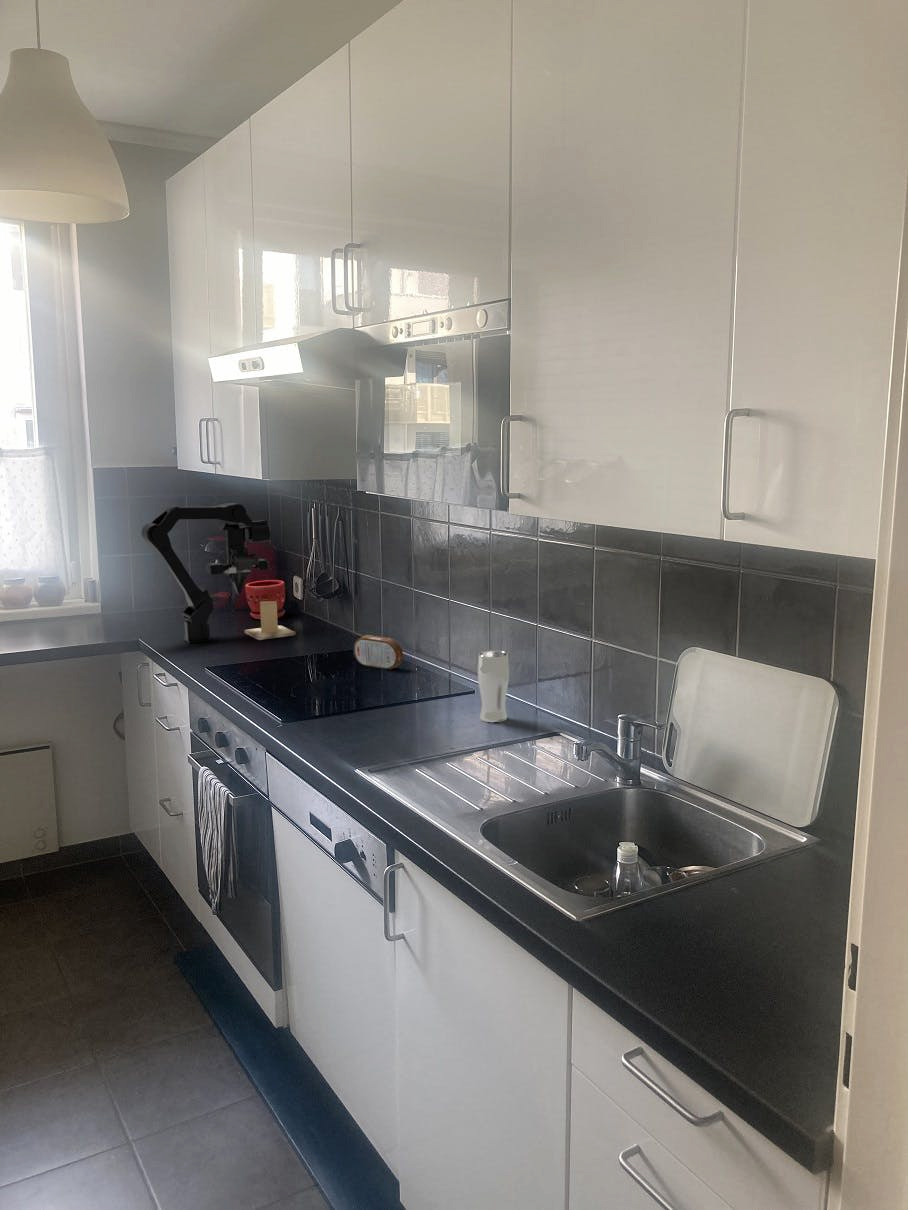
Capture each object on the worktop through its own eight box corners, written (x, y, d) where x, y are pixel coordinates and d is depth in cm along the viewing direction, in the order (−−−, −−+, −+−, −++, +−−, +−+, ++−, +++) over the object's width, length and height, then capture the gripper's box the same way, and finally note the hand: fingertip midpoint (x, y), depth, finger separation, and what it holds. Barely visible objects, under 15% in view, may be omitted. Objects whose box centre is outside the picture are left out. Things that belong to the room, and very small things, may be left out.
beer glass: (483, 724, 218) (482, 658, 215) (474, 715, 224) (473, 651, 222) (513, 721, 220) (513, 656, 217) (503, 713, 226) (503, 649, 223)
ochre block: (261, 633, 308) (260, 604, 306) (261, 629, 313) (260, 601, 311) (277, 632, 309) (276, 603, 307) (277, 628, 314) (276, 601, 312)
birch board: (258, 640, 303) (258, 636, 303) (244, 633, 313) (244, 629, 313) (295, 635, 309) (295, 632, 309) (280, 628, 319) (280, 625, 319)
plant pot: (277, 612, 346) (275, 578, 344) (292, 618, 335) (290, 583, 333) (241, 616, 340) (239, 581, 337) (255, 622, 329) (253, 587, 326)
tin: (404, 669, 266) (403, 638, 265) (397, 672, 264) (396, 641, 262) (359, 662, 274) (358, 632, 273) (352, 665, 272) (351, 635, 270)
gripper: (215, 549, 293) (218, 601, 296) (274, 544, 303) (277, 594, 306) (203, 545, 303) (206, 595, 306) (261, 540, 312) (263, 589, 315)
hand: (238, 594), depth 308 cm, fingers closed
